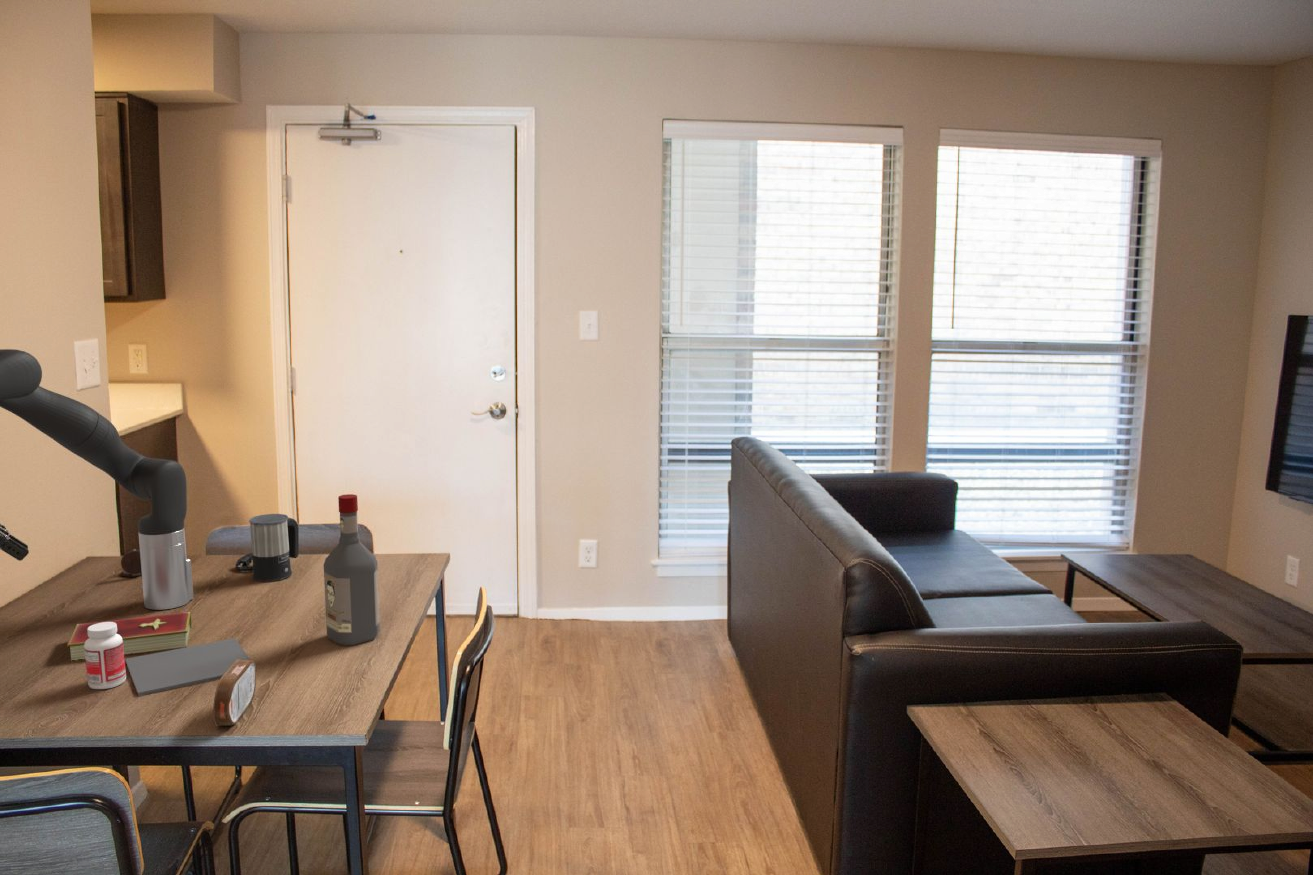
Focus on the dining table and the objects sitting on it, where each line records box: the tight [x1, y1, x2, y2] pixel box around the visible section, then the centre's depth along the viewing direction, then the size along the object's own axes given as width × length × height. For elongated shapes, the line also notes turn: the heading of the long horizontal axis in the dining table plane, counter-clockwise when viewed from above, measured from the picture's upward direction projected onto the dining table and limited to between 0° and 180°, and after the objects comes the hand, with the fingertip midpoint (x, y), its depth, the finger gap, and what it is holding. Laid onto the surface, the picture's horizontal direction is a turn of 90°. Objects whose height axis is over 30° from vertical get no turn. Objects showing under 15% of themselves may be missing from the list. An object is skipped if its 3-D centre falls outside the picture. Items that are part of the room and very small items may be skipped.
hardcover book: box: [66, 611, 193, 662], centre depth 199 cm, size 12×21×4 cm, turn 112°
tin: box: [213, 659, 257, 727], centre depth 169 cm, size 15×3×8 cm, turn 5°
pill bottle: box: [84, 621, 127, 690], centre depth 180 cm, size 6×6×11 cm
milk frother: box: [235, 513, 300, 583], centre depth 244 cm, size 14×16×15 cm
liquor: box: [323, 493, 381, 647], centre depth 202 cm, size 9×9×30 cm
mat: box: [124, 637, 251, 697], centre depth 189 cm, size 20×18×1 cm
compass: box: [112, 548, 142, 578], centre depth 241 cm, size 8×8×7 cm
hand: (24, 553), depth 172 cm, fingers open, 2 cm apart
